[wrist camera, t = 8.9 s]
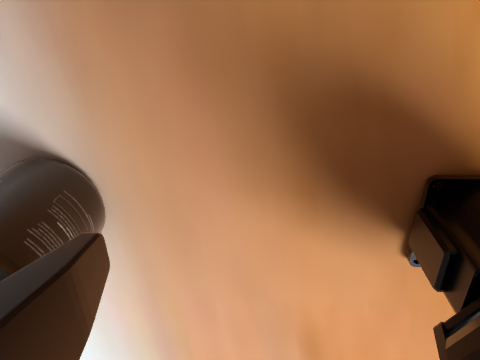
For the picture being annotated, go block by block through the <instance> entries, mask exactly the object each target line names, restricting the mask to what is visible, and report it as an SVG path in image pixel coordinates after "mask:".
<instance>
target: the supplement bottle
mask: <svg viewBox="0 0 480 360" xmlns="http://www.w3.org/2000/svg"><path fill="white" fill-rule="evenodd" d="M104 223H105V207H104V204H103V201H102V198H101V196H100V194H99V192H98V191H97V189H96V188H95V186H94V185H93V184H92V183H91V182H90V181H89V180H88V179H87V178H86V177H85V176H84V175H83V174H82V173H80V172H79V171H77V170H76V169H74V168H72V167H70V166H68V165H66V164H64V163H61V162H58V161H54V160H49V159H28V160H23V161H20V162H17V163H15V164H13V165H12V166H10V167H8V168H7V169H6V170H4V171H3V172H1V173H0V281H2V280H4V279H5V278H7V277H9V276H10V275H12V274H14V273H15V272H17V271H19V270H20V269H22V268H24V267H25V266H27V265H29V264H31V263H32V262H34V261H36V260H37V259H39V258H41V257H42V256H44V255H46V254H47V253H49V252H51V251H52V250H54V249H56V248H58V247H59V246H61V245H63V244H64V243H66V242H68V241H69V240H71V239H73V238H74V237H76V236H78V235H79V234H81V233H84V232H93V233H101V232H102V230H103V227H104Z"/></svg>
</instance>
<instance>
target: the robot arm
mask: <svg viewBox="0 0 480 360" xmlns="http://www.w3.org/2000/svg"><path fill="white" fill-rule="evenodd" d="M436 183H439V185H438V186H436V187H433V186H434V184H436ZM408 244H409V246H410V249H409V253H408V257H407V259H408V261H409V263H410V265H411V266H413V267H421V268H422V269H423V271H424V273H425V275H426V276H427V278H428V280H429V282H430V284H431V285H432V287H433V288H434V289H435V290H436V291H437V292H443V293H444V294H445V296H446V298H447V299H448V301H449V303H450V304H451V306H452V308H453V310H454V311H455V313H456V314H455V315H454V316H452V317H451V318H450V319H448V320H447V321H445V322H440V323H439V324H438V325H436V326H435V327H434V328H433V330H434V334H435V339H436V344H437V348H438V353H439V358H440V360H480V176H432V177H430V178H429V179H428V180H427V182H426V185H425V189H424V193H423V197H422V201H421V205H420V208H419V209H418V210H417V211H416V213H415V217H414V221H413V225H412V229H411V233H410V237H409V241H408ZM414 259H417V260H414ZM109 268H110V261H109V257H108V253H107V248H106V244H105V240H104V237H103V235H102V234H101V233H93V232H84V233H81V234H79V235H78V236H76V237H74V238H73V239H71V240H69V241H68V242H66V243H64V244H63V245H61V246H59V247H58V248H56V249H54V250H52V251H51V252H49V253H47V254H46V255H44V256H42V257H41V258H39V259H37V260H36V261H34V262H32V263H31V264H29V265H27V266H25V267H24V268H22V269H20V270H19V271H17V272H15V273H14V274H12V275H10V276H9V277H7V278H5V279H4V280H2V281H0V360H79V359H80V357H81V354H82V352H83V350H84V347H85V345H86V342H87V340H88V337H89V335H90V332H91V329H92V326H93V323H94V320H95V316H96V313H97V310H98V306H99V303H100V300H101V296H102V293H103V290H104V286H105V283H106V280H107V276H108V273H109Z"/></svg>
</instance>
